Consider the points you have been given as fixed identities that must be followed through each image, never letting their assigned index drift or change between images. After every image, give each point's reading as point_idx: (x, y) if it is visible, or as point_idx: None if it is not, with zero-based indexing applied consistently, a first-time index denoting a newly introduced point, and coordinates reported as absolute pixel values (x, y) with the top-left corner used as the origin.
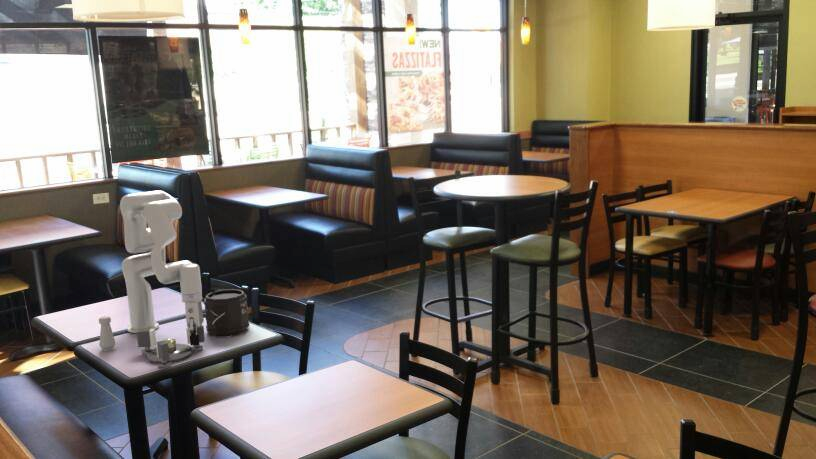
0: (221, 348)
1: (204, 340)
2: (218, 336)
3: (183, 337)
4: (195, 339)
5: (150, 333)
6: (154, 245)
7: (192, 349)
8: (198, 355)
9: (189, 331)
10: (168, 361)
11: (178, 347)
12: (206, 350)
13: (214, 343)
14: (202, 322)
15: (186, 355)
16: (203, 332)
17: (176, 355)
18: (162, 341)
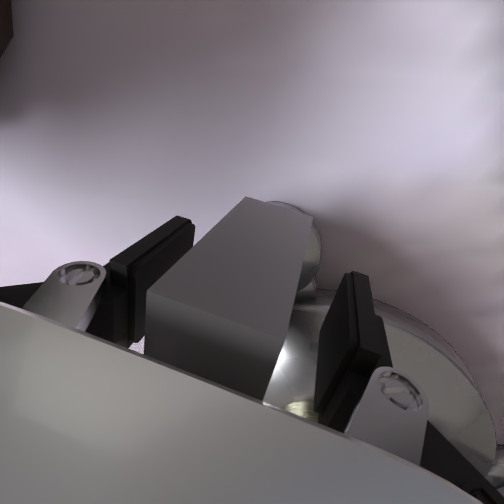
0: (372, 8)
1: (268, 205)
2: (7, 25)
3: (14, 272)
4: (386, 351)
5: None
6: None
7: (314, 294)
8: (441, 263)
9: None
10: (492, 467)
11: (273, 380)
12: (341, 180)
13: (174, 82)
14: (117, 365)
15: (462, 366)
16: (259, 254)
17: (466, 439)
18: None
